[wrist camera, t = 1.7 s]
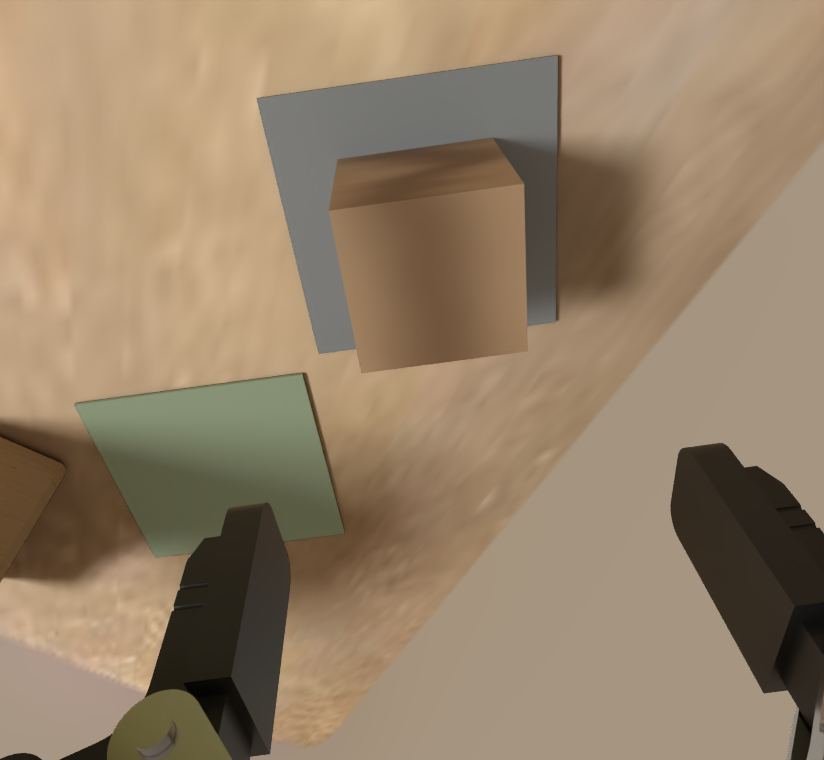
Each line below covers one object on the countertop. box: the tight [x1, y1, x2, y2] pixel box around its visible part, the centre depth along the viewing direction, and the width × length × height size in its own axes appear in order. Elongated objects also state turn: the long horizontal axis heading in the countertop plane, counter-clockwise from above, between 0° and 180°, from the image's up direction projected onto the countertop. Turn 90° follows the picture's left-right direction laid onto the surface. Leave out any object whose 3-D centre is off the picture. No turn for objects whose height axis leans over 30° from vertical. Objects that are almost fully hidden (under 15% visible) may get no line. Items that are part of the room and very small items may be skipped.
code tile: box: [257, 55, 558, 354], centre depth 26 cm, size 11×11×1 cm
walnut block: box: [329, 138, 528, 373], centre depth 23 cm, size 6×6×6 cm
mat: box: [74, 373, 345, 558], centre depth 33 cm, size 11×11×1 cm
